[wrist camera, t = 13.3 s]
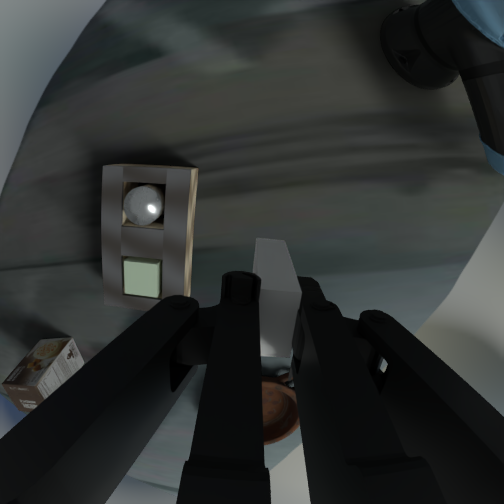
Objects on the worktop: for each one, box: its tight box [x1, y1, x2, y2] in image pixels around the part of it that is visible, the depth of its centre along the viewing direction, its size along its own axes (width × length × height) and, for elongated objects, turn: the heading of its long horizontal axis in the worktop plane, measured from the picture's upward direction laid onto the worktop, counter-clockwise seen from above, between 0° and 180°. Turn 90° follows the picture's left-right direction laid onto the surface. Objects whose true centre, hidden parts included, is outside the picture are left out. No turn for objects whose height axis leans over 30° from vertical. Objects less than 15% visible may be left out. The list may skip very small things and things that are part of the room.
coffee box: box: [2, 337, 84, 412], centre depth 47 cm, size 9×6×16 cm
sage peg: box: [124, 256, 163, 297], centre depth 46 cm, size 5×5×7 cm
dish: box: [262, 373, 300, 445], centre depth 56 cm, size 18×22×5 cm
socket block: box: [101, 164, 198, 311], centre depth 45 cm, size 20×12×7 cm, turn 174°
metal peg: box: [124, 183, 166, 225], centre depth 43 cm, size 5×5×7 cm
